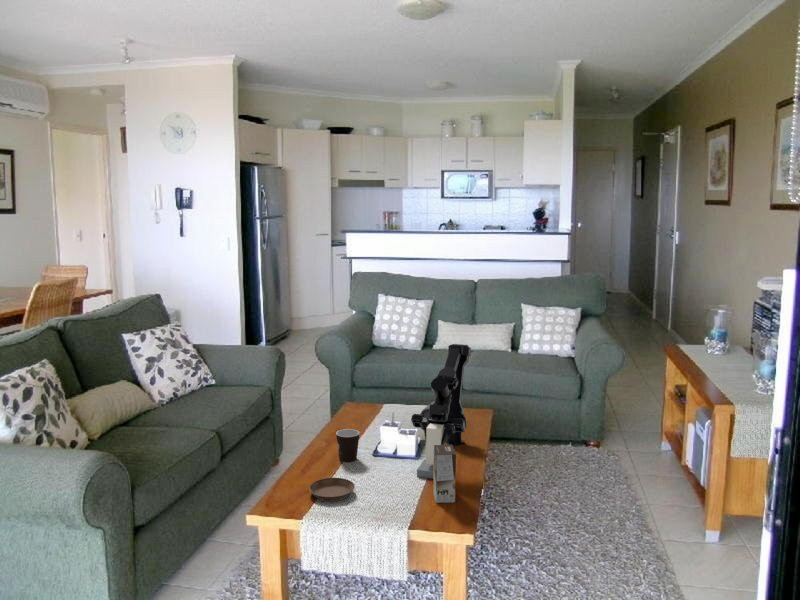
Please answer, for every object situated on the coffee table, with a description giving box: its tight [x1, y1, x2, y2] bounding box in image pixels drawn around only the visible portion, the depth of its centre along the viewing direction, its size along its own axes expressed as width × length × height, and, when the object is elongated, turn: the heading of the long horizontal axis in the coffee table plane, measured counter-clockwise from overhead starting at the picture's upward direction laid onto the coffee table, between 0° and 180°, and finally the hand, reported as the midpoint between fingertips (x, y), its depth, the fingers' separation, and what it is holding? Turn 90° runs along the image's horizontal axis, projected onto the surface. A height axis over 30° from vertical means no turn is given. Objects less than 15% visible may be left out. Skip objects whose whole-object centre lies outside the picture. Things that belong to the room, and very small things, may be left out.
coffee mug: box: [335, 428, 361, 463], centre depth 253 cm, size 12×9×10 cm
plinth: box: [416, 459, 434, 480], centre depth 240 cm, size 10×10×2 cm
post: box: [425, 423, 445, 465], centre depth 239 cm, size 5×5×13 cm
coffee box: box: [432, 444, 457, 504], centre depth 220 cm, size 9×6×16 cm
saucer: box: [309, 477, 356, 502], centre depth 223 cm, size 15×15×3 cm
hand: (434, 444), depth 238 cm, fingers closed on post, 5 cm apart
